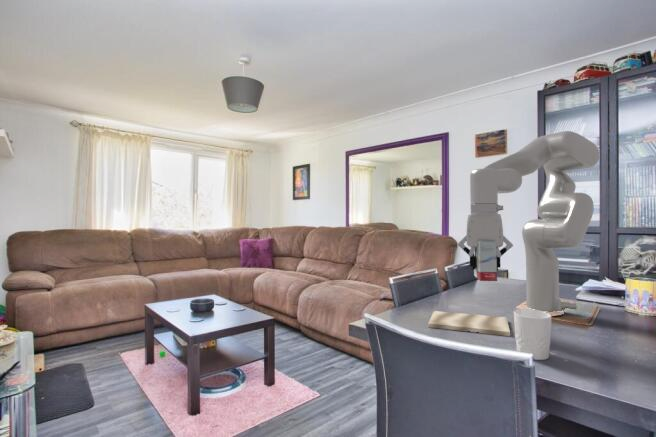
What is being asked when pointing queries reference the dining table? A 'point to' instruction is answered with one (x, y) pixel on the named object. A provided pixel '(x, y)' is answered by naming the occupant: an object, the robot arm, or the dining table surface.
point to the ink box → (485, 261)
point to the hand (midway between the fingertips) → (484, 268)
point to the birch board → (470, 323)
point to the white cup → (533, 332)
